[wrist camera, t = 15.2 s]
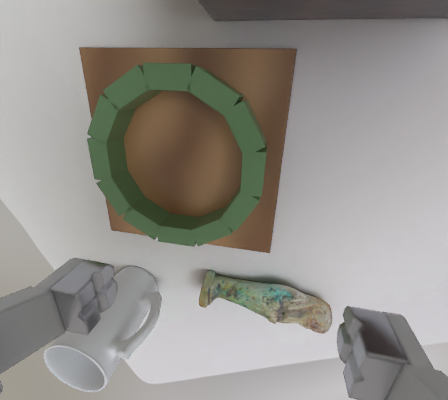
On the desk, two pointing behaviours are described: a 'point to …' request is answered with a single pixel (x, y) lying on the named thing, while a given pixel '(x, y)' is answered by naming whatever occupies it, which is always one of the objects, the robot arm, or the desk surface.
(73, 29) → the desk surface
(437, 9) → the peg plinth
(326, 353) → the desk surface
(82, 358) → the mug
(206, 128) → the cork mat
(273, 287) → the figurine
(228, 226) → the ring
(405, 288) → the desk surface
